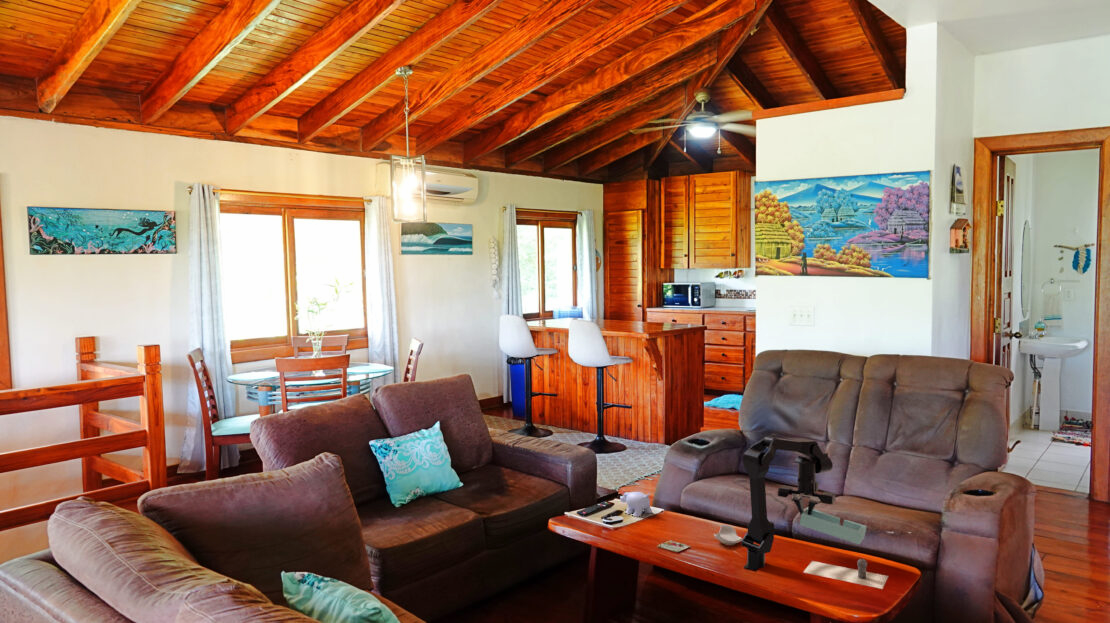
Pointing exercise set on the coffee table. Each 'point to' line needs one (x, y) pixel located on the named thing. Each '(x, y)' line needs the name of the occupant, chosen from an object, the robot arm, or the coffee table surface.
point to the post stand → (848, 573)
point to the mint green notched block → (833, 526)
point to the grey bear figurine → (636, 503)
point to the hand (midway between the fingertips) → (805, 518)
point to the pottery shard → (727, 535)
